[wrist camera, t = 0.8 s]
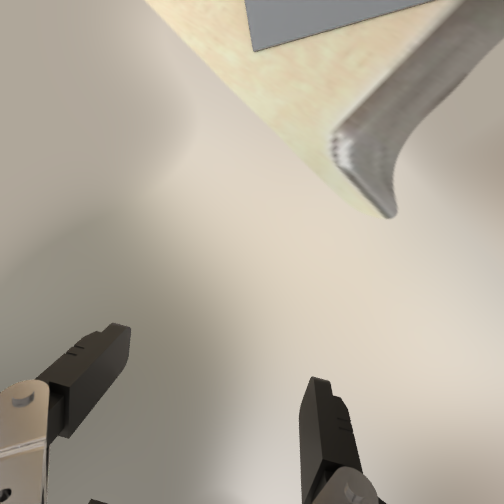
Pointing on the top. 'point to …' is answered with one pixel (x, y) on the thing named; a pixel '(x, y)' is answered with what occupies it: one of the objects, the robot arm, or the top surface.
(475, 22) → the top surface
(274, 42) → the mat
